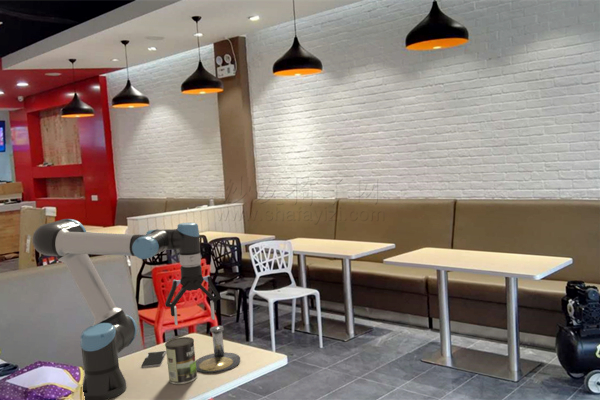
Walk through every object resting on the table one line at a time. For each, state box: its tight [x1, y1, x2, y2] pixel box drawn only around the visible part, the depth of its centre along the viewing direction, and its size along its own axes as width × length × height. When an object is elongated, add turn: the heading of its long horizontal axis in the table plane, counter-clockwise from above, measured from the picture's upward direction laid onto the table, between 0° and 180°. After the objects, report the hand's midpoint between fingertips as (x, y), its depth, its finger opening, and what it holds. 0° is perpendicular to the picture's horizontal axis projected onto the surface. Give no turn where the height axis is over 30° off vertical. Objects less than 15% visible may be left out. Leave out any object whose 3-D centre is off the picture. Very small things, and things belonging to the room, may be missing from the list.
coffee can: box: [164, 336, 198, 385], centre depth 202 cm, size 10×10×14 cm
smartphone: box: [141, 350, 167, 369], centre depth 224 cm, size 8×1×15 cm
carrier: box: [195, 325, 241, 374], centre depth 214 cm, size 18×19×12 cm
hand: (194, 321), depth 203 cm, fingers open, 13 cm apart
